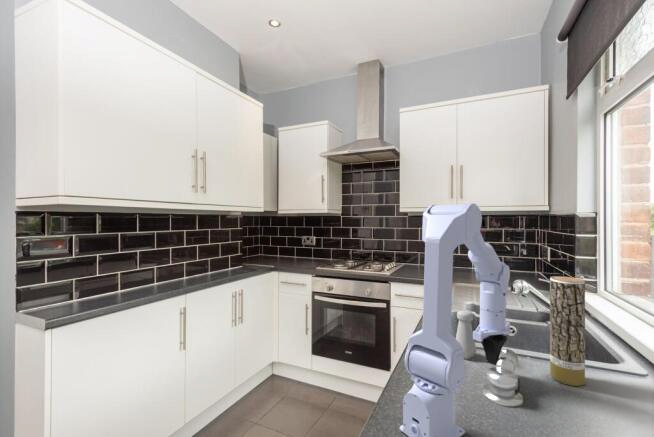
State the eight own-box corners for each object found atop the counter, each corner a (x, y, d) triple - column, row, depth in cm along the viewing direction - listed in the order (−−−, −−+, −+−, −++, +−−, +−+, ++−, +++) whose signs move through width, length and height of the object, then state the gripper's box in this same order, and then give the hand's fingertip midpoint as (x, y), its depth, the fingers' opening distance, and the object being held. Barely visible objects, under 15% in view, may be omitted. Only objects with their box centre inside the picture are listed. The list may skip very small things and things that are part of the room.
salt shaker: (477, 354, 91) (477, 310, 91) (475, 362, 86) (475, 315, 86) (455, 350, 94) (455, 307, 93) (452, 357, 89) (452, 312, 89)
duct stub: (512, 411, 64) (512, 394, 64) (475, 393, 71) (475, 378, 71) (531, 397, 69) (531, 381, 69) (494, 381, 76) (494, 367, 76)
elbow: (516, 396, 65) (516, 377, 65) (485, 387, 69) (484, 369, 69) (522, 368, 77) (522, 352, 77) (495, 361, 81) (495, 346, 81)
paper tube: (591, 389, 72) (591, 282, 72) (558, 386, 74) (558, 281, 73) (574, 374, 79) (574, 276, 79) (544, 371, 80) (544, 276, 80)
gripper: (494, 318, 70) (493, 378, 70) (523, 308, 78) (522, 362, 78) (464, 310, 76) (464, 366, 76) (494, 302, 84) (494, 352, 84)
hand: (492, 363), depth 77 cm, fingers closed, pressing on elbow
